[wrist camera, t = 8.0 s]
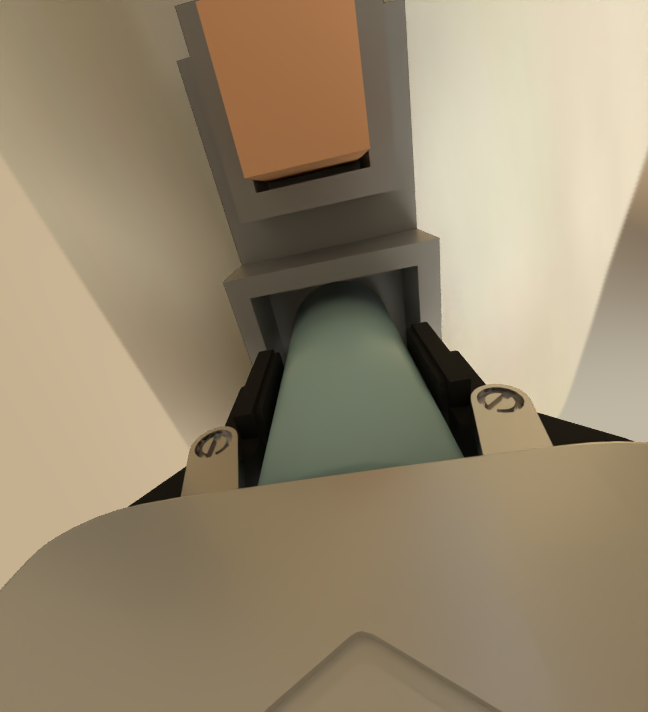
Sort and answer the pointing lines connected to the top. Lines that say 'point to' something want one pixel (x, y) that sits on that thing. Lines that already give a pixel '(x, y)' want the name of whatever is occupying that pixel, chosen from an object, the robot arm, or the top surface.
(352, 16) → the plunger
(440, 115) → the top surface
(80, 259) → the top surface
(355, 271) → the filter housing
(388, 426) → the cartridge
